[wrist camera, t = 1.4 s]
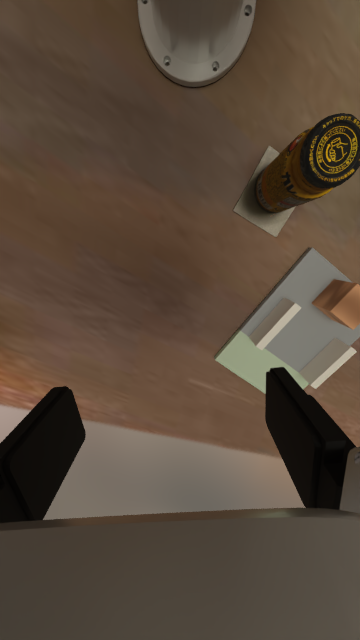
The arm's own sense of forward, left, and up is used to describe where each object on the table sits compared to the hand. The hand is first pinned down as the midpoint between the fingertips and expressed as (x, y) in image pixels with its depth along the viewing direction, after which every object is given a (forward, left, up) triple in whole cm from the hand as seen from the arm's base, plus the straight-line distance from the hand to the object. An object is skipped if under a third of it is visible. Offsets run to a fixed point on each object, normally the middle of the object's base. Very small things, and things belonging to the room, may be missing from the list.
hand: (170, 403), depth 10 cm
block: (-13, +19, -24) cm, 33 cm away
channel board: (-6, +19, -25) cm, 32 cm away
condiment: (-19, +2, -25) cm, 31 cm away
